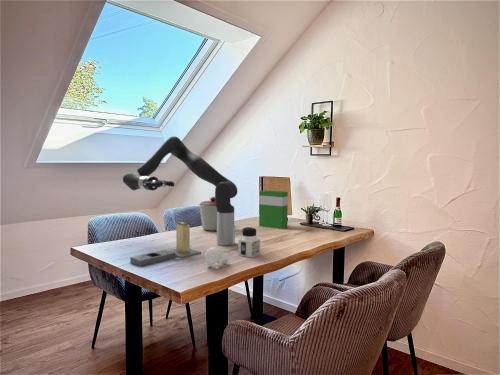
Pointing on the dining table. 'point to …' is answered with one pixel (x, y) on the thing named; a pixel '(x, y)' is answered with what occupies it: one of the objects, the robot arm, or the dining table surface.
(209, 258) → the white humped figurine
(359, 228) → the dining table surface
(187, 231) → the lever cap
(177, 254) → the mat
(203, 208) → the canister
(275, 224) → the green cereal box
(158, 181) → the robot arm
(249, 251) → the container
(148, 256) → the plane body
